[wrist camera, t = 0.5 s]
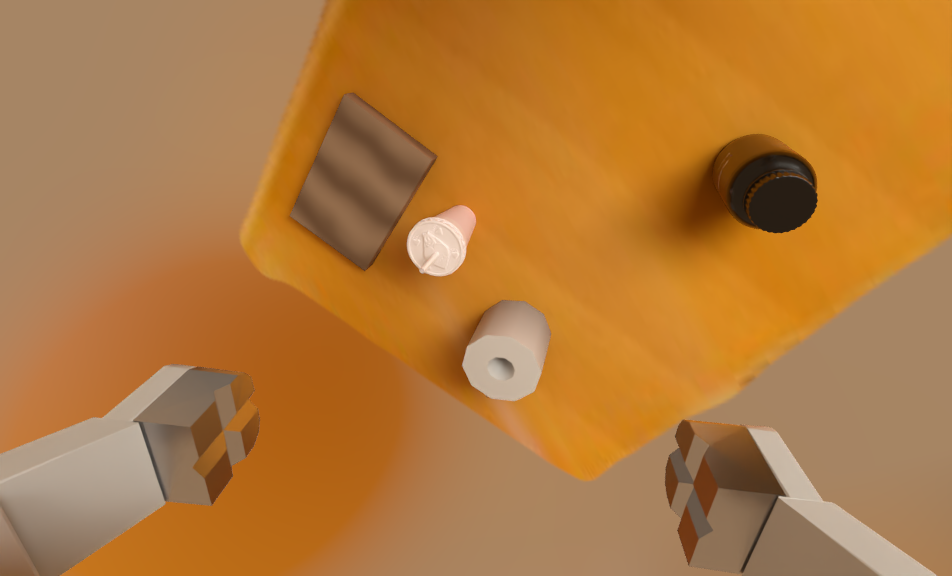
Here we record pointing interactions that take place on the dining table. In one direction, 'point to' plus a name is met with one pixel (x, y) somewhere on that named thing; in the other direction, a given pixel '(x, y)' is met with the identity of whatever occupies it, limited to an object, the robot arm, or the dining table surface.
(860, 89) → the dining table surface
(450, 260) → the smoothie
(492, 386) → the toilet tissue
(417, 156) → the walnut board
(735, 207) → the supplement bottle
